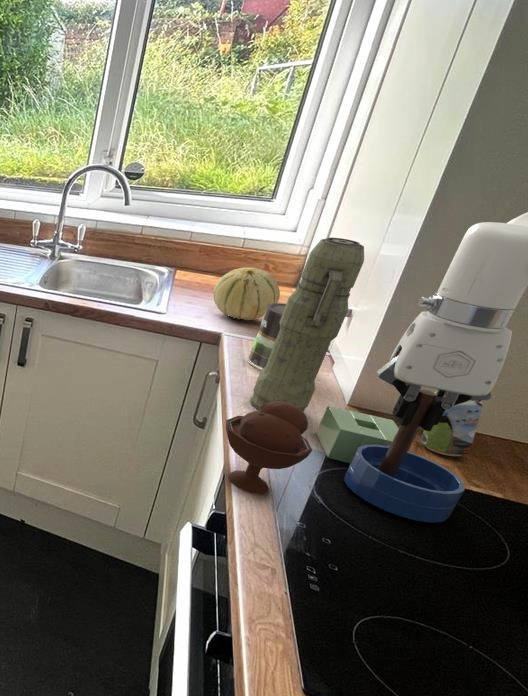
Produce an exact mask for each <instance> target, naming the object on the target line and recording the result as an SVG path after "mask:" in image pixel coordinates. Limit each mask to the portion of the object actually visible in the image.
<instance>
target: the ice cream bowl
mask: <svg viewBox="0 0 528 696" xmlns="http://www.w3.org/2000/svg"><path fill="white" fill-rule="evenodd" d="M308 426H309V421H308V418H307V415H306V414H305V413H303V411H302V410H300V409H299V408H298V407H296V406H294V405H292V404H290V403H287V402H282V401H273V402H268V403H266V404H264V405H262V406H260V408H259V410H258V409H257V410H254V411H250V412H248V413H246V414H245V415H236V416H233V417H231V418H228V419H226V420H225V432H226V436H227V437H226V438H227V441H228V443H229V446H230V448H231V449H232V450H233V452H234V453H235V454H236V455H238V456H239V457H240V458H241V459H243V460H244V461H245V462H247V463H248V464H247V467H246V469H245V470H233V471H232V472H230V473H229V474H227V476H228V480H229V482H230V483H231V484H233V485H234V486H235V487H237V488H238V489H240V490H243V491H245V492H248V493H249V494H257V495H261V496H262V495H265V494H267V493H269V492H270V488H269V485H268V482H267V481H265V480H264V479H263V478H261V477H260V473H261V470H262V469H269V470H283V469H288V468H292V467H293V466H295V465H298V464H300V463H301V462H302V461H304V460H305V459H307V458H308V457H309V455H311V453H312V452H313V449H312V446H311V443H310V442H309V441H308V439H307V438H306V437H304V436H303V435H302V434H304V433H305V432H306V430H308Z"/></svg>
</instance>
